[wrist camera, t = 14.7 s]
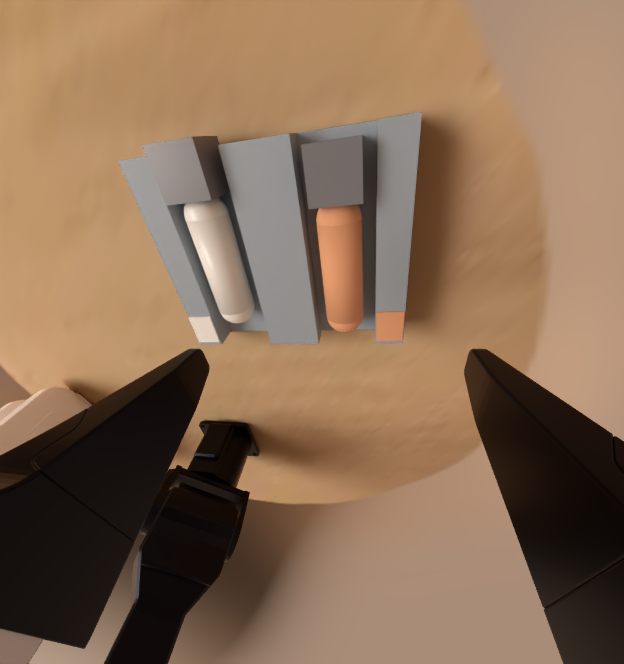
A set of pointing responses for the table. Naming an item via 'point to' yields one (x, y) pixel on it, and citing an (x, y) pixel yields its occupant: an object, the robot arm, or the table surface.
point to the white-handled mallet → (205, 215)
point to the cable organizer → (37, 415)
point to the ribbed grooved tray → (294, 233)
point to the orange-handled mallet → (338, 224)
